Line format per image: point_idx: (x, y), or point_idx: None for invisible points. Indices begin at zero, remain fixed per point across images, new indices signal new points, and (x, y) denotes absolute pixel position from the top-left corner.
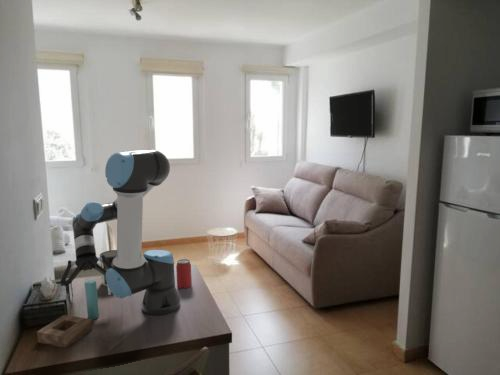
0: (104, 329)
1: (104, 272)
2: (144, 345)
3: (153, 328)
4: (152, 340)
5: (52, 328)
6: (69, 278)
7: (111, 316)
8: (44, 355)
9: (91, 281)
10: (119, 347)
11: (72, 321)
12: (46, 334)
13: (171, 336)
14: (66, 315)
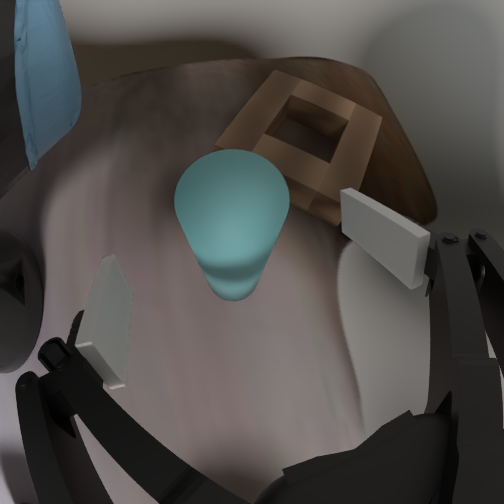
0: (169, 165)
1: (99, 391)
2: None
3: None
4: None
5: (346, 125)
6: (462, 265)
7: (151, 261)
8: None
9: (227, 222)
10: (128, 87)
11: (289, 144)
12: (345, 100)
13: None
14: (338, 199)
